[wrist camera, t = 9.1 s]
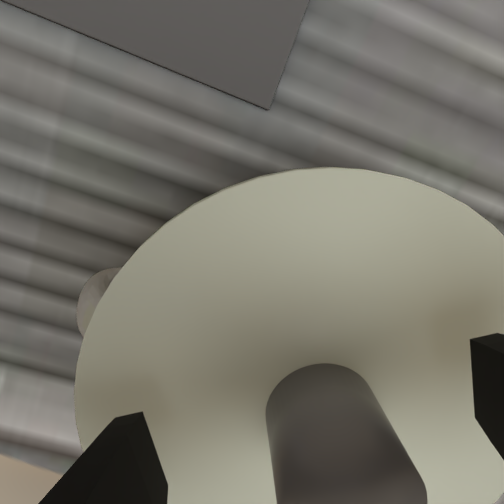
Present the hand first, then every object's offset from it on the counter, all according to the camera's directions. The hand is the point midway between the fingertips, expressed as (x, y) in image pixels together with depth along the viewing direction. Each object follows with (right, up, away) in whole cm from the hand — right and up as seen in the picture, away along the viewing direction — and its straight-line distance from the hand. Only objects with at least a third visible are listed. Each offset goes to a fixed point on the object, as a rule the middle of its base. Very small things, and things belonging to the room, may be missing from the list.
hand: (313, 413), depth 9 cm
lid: (0, -1, +3) cm, 3 cm away
